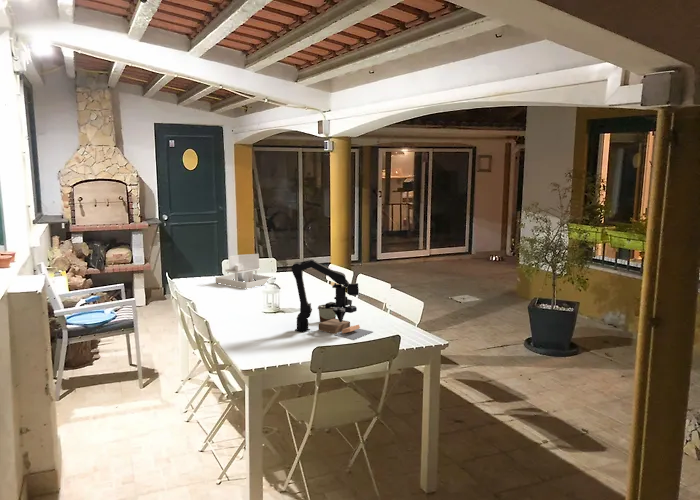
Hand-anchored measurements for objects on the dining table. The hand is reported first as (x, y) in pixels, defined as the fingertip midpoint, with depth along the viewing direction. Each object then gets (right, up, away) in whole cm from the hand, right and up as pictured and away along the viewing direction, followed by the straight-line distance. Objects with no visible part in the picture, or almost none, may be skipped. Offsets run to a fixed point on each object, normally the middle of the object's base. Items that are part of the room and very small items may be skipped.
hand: (340, 321), depth 318 cm
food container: (-8, -3, +20) cm, 21 cm away
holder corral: (-80, +14, +131) cm, 154 cm away
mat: (+7, -6, -5) cm, 11 cm away
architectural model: (-80, +13, +131) cm, 154 cm away
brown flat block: (-4, -5, +3) cm, 7 cm away
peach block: (+5, -3, -4) cm, 7 cm away
